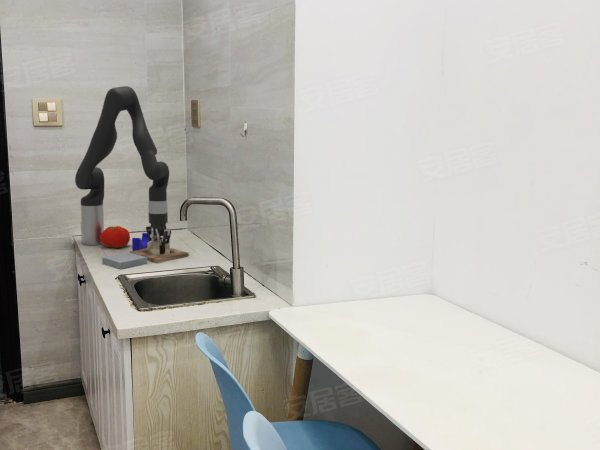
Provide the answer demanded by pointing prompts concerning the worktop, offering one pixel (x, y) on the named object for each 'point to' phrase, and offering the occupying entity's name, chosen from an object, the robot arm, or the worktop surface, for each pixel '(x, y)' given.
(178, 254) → the board
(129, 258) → the plinth
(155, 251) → the ash block
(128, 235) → the tomato
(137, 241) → the cable clip
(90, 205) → the robot arm
